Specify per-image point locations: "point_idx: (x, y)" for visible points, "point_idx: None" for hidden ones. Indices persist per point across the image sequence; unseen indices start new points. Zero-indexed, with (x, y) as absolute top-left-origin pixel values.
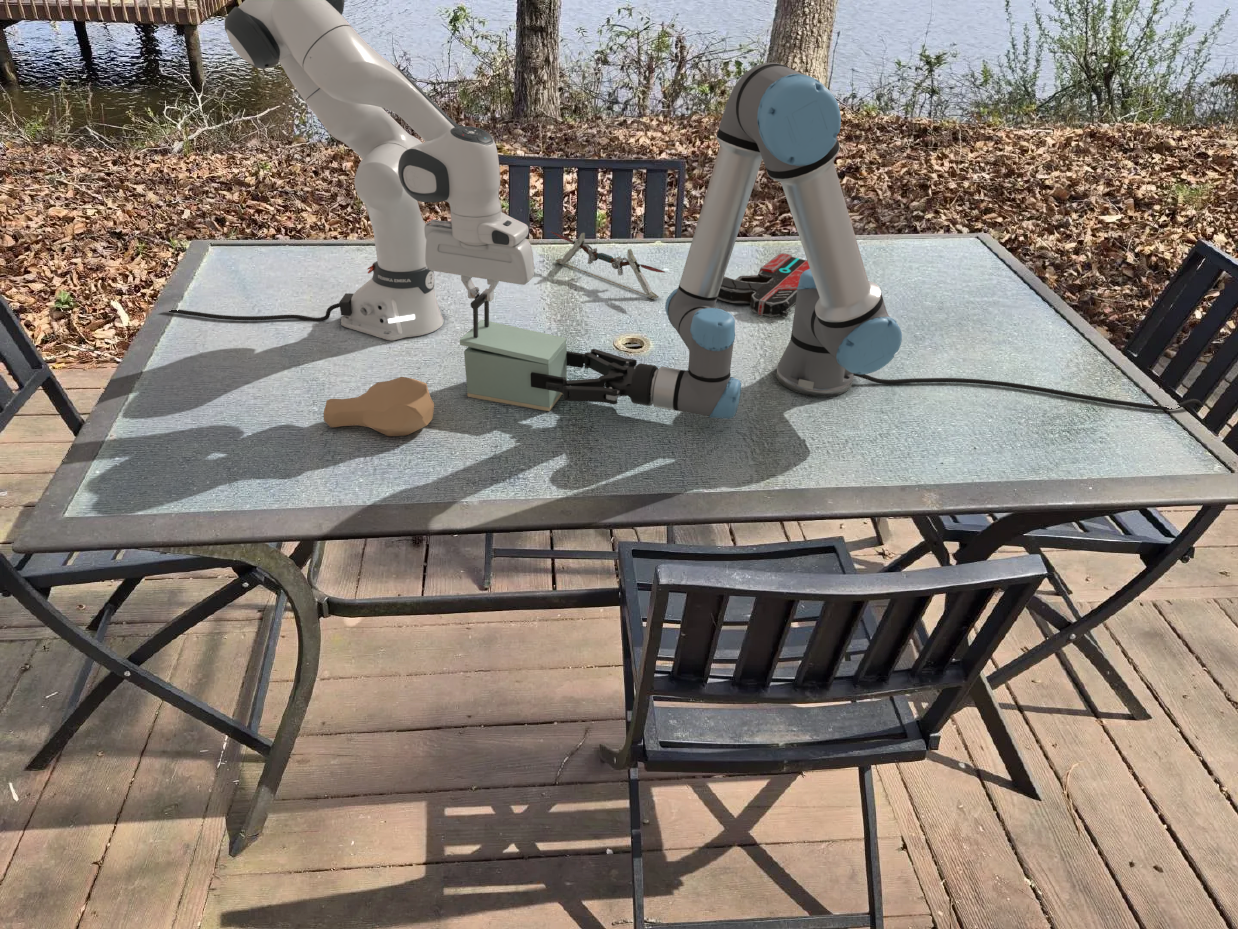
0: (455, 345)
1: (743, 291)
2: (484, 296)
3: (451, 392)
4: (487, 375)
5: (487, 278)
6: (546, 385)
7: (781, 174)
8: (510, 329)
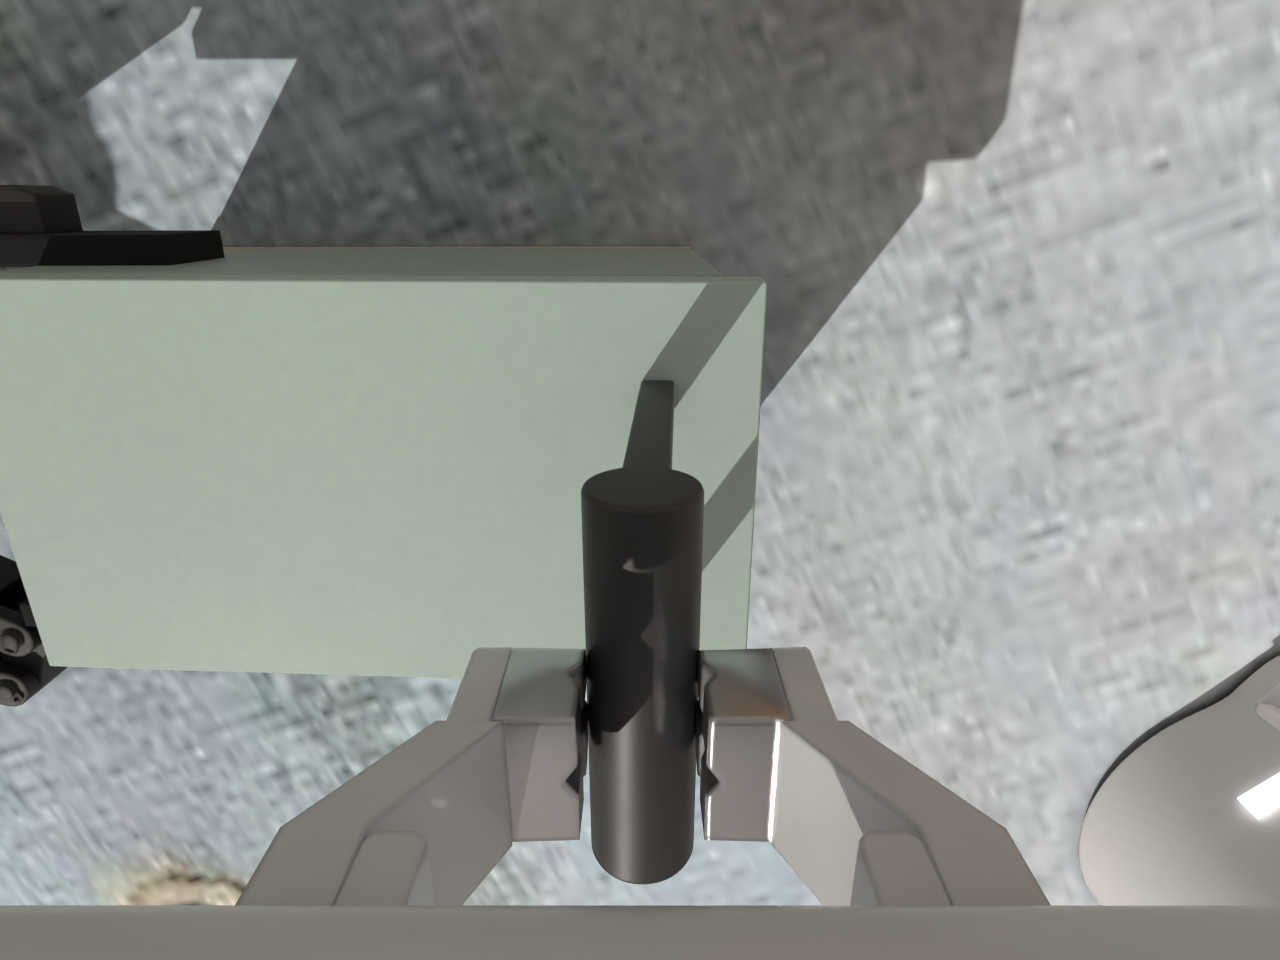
0: (953, 707)
1: None
2: (551, 678)
3: (795, 261)
4: (543, 258)
5: (306, 917)
6: (45, 191)
7: None
8: (466, 627)
